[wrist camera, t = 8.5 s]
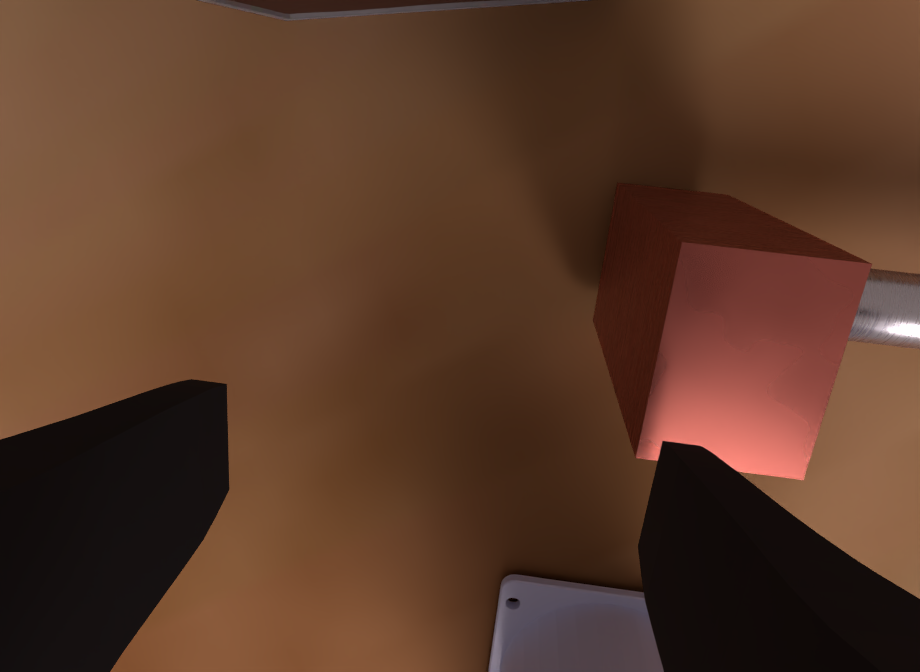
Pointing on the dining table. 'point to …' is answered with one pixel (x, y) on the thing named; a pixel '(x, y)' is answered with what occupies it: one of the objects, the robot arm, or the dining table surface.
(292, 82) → the dining table surface
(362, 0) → the food container
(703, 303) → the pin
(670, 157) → the dining table surface
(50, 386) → the dining table surface
